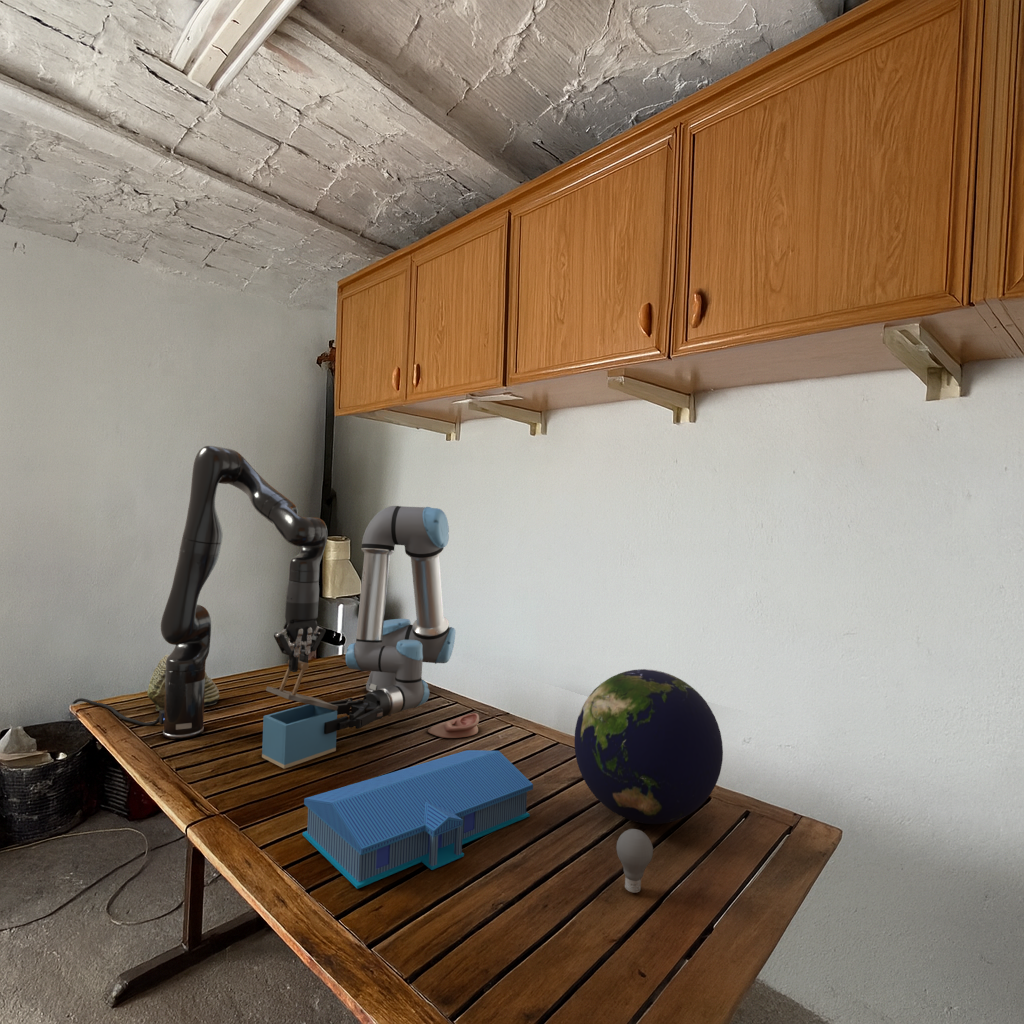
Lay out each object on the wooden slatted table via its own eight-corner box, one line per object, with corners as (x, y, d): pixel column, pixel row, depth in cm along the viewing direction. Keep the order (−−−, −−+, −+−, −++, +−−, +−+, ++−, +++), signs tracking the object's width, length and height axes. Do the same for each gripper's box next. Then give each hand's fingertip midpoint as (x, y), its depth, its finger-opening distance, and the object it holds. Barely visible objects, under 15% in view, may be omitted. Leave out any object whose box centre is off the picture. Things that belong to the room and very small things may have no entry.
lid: (288, 699, 146) (302, 661, 149) (265, 690, 152) (279, 654, 155) (336, 710, 158) (349, 675, 160) (314, 702, 163) (326, 668, 166)
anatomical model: (424, 720, 170) (437, 707, 181) (423, 735, 170) (437, 721, 181) (472, 726, 167) (482, 712, 179) (471, 741, 167) (482, 726, 179)
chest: (284, 768, 146) (285, 725, 146) (261, 757, 152) (263, 715, 152) (335, 750, 158) (337, 710, 158) (313, 740, 164) (314, 702, 163)
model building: (367, 898, 100) (369, 836, 100) (301, 833, 119) (303, 781, 118) (541, 822, 127) (543, 772, 127) (465, 778, 145) (467, 735, 145)
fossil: (144, 707, 182) (145, 655, 182) (212, 696, 194) (213, 647, 194) (151, 716, 175) (153, 662, 175) (221, 703, 188) (223, 653, 188)
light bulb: (610, 879, 108) (613, 822, 108) (644, 879, 109) (647, 822, 109) (619, 902, 102) (622, 840, 102) (655, 901, 103) (658, 840, 103)
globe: (552, 832, 123) (559, 678, 123) (592, 773, 151) (597, 648, 150) (712, 872, 112) (721, 703, 111) (723, 800, 140) (730, 665, 139)
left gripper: (285, 603, 146) (281, 678, 146) (335, 599, 157) (331, 669, 157) (267, 599, 150) (263, 672, 150) (317, 595, 161) (313, 663, 161)
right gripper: (409, 726, 169) (340, 750, 151) (356, 707, 182) (286, 727, 164) (410, 698, 169) (341, 719, 151) (357, 681, 182) (287, 698, 164)
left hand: (298, 670), depth 153 cm, fingers closed on lid, 2 cm apart
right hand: (312, 723), depth 158 cm, fingers closed on chest, 9 cm apart
